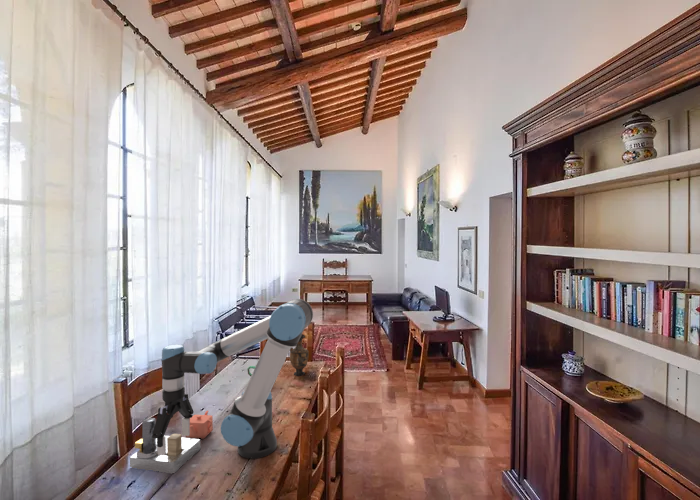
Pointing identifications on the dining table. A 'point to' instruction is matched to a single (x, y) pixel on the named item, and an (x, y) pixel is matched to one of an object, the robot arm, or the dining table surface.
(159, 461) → the white base plate
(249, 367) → the mug
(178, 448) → the tan wooden block
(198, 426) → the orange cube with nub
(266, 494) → the dining table surface
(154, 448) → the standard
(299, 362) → the vase
